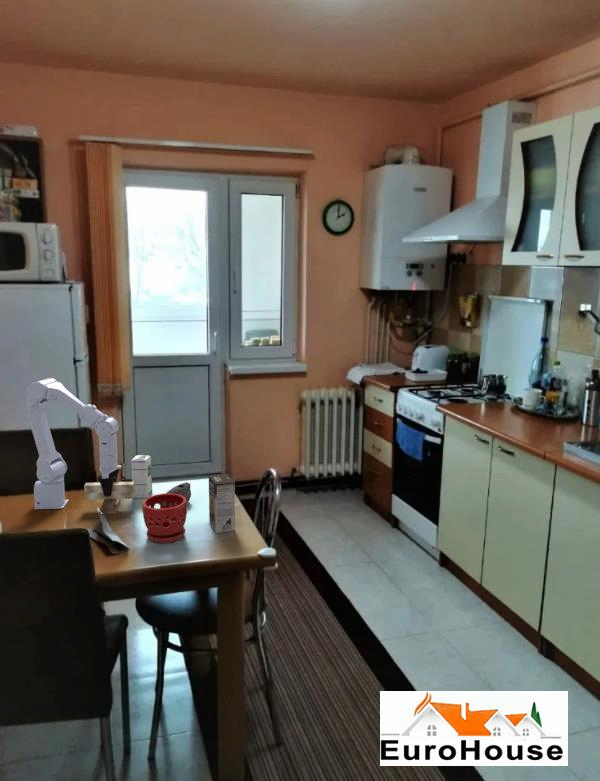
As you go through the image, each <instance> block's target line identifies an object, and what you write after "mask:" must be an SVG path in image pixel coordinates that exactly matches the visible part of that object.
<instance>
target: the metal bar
mask: <svg viewBox="0 0 600 781" xmlns="http://www.w3.org/2000/svg"><path fill="white" fill-rule="evenodd" d="M83 489H84V490H83V491H84V500H85V501H86V500H87V501H89V500H90V501H91V500H93V501H97V500H104V499H120V500H129V499H130V500H131V499H132V500H133V499H134V496H135V491H134V482H132V481H116V482H113V487H112V494H111V496H106V497H105V496H104V493H103V489H102V486H101V484H100V482H85V484H84V486H83Z"/></svg>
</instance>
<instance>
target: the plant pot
mask: <svg viewBox="0 0 600 781" xmlns="http://www.w3.org/2000/svg"><path fill="white" fill-rule="evenodd" d="M164 501H165V502H167V504H166V505H163V504H162V503H163V502H164ZM175 502H177V504H175ZM187 503H188V502H186V498H185V497H184V496H182V495H179V494H171V493H167V492H166V493H159V494H154V495H150V496H149V497H148V498H144V500H143V501H142V504H141V505H142V506H141V507H142V515H143V521H144V525H145V527H146V529H147V531H146V536H147V538H148V539H149V540H150V541H152V542H156V543H160V544H161V543H162V544H164V543H165V544H166V543H173V542H176V541H178V540H180V539H181V538H183V537H184V535H185V534H186V528H185V527H184V526H185V524H186V519H187V515H188V514H187V513H188V504H187ZM169 504H172V506H170V505H169ZM156 505H159V506H160V507H159V508H155V506H156Z"/></svg>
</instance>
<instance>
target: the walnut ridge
mask: <svg viewBox="0 0 600 781" xmlns="http://www.w3.org/2000/svg"><path fill="white" fill-rule="evenodd" d="M121 500H122V499H103V502H102V503H101V506H100V508H99V512H100V511H101V512H102V513H103V514H102V515H116V514H117V511H118V509H119V508H120V506H121V502H122V501H121Z"/></svg>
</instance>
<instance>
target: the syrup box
mask: <svg viewBox="0 0 600 781" xmlns="http://www.w3.org/2000/svg"><path fill="white" fill-rule="evenodd" d="M130 462H131V482H134V491H135V496H134V498H136V499H147V498H148V497H151V496H152V494H153V477H152V476H153V475H152V474H153V473H152V472H153V471H152V456H151V455H145V454H140V455H138V454H137V455H135V456H134V457H133V458H132V459H131V460H130ZM134 498H133V499H134Z"/></svg>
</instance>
